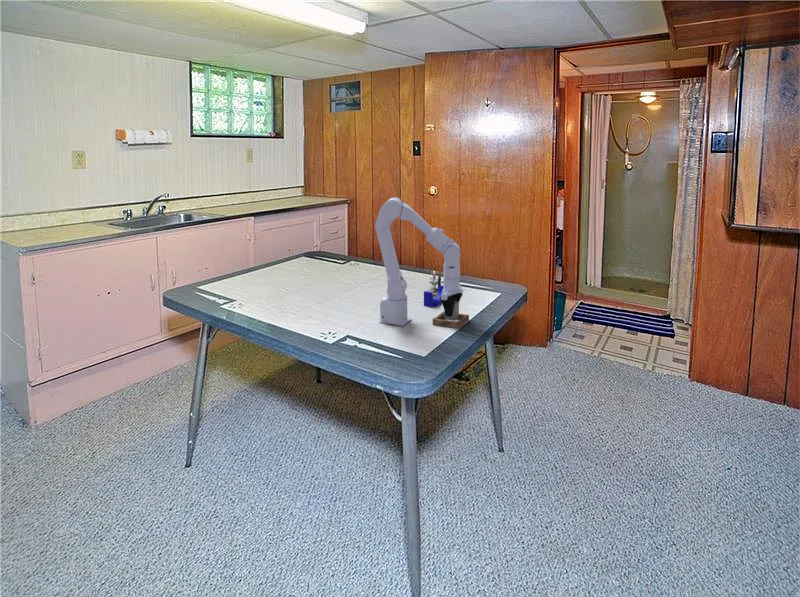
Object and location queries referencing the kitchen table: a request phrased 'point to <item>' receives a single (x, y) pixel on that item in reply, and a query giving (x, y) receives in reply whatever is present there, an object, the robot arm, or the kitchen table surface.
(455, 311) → the grey block
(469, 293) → the kitchen table surface
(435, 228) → the robot arm
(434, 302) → the cable clip
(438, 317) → the brown square frame
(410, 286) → the kitchen table surface
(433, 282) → the bike brake
